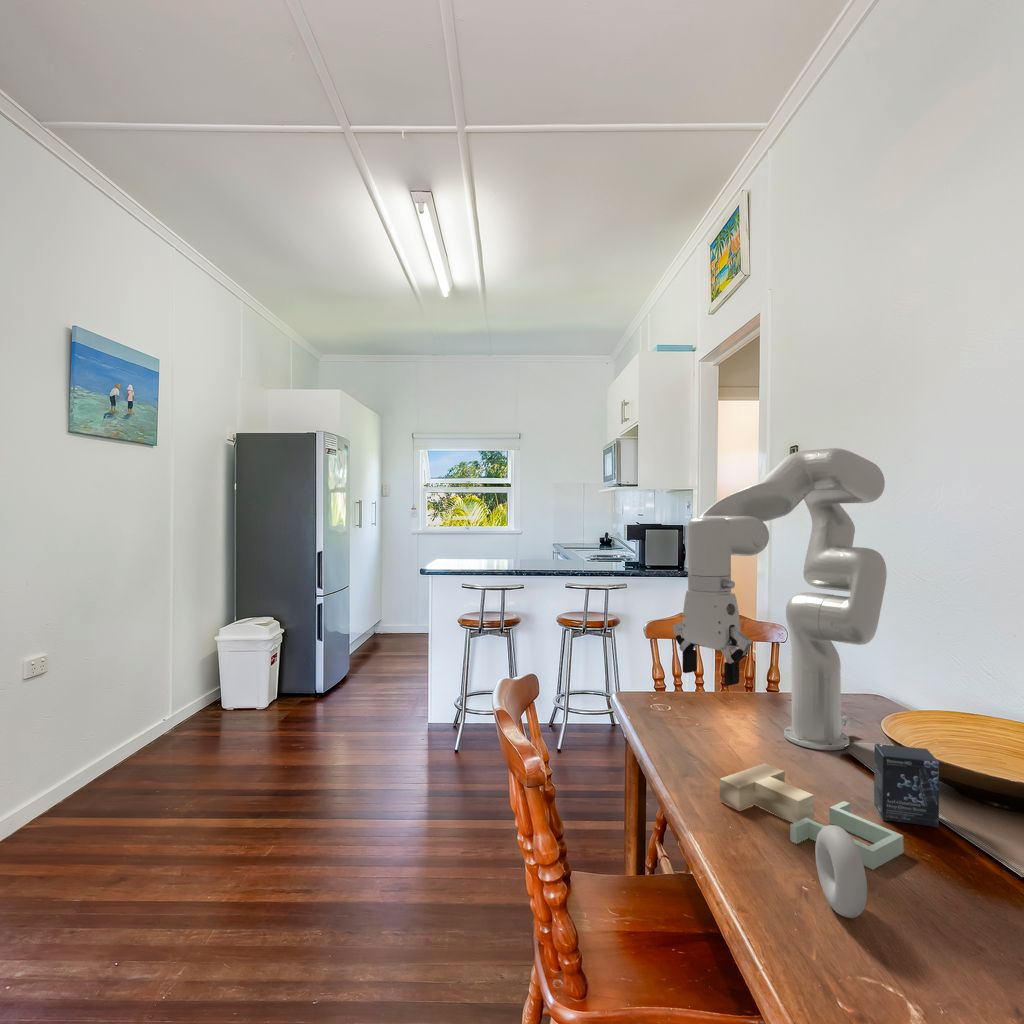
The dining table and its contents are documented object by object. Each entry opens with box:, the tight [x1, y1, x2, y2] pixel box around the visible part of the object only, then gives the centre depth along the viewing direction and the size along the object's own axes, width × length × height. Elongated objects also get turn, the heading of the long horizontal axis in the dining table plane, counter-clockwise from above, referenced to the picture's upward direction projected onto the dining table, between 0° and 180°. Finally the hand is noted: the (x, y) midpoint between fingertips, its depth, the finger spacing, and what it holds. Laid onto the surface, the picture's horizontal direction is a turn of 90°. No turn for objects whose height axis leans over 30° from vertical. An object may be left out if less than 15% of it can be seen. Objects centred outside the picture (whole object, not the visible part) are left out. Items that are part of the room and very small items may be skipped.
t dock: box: [789, 800, 904, 870], centre depth 91 cm, size 14×10×2 cm
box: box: [873, 743, 940, 828], centre depth 99 cm, size 8×6×11 cm
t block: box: [719, 762, 815, 824], centre depth 102 cm, size 12×12×4 cm
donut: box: [814, 824, 868, 919], centre depth 76 cm, size 10×4×10 cm, turn 172°
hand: (709, 677), depth 112 cm, fingers open, 9 cm apart
